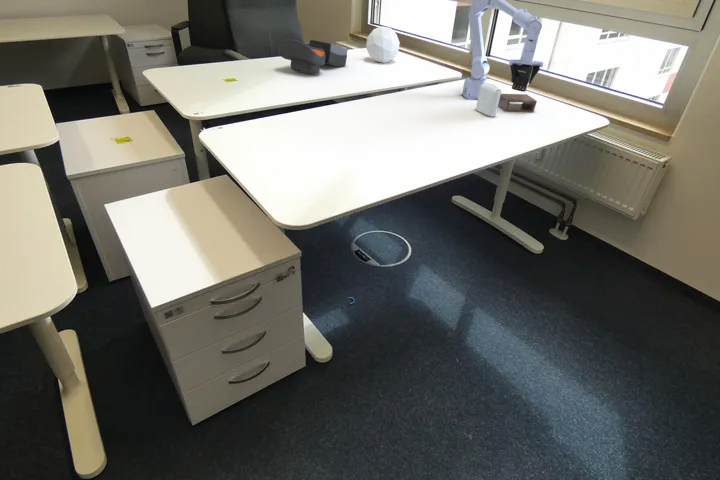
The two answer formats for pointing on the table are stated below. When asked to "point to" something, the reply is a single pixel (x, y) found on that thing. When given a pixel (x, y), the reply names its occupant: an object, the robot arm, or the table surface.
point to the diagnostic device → (312, 55)
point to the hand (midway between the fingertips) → (520, 82)
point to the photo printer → (488, 99)
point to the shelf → (526, 106)
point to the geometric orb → (382, 44)
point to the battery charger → (522, 77)
